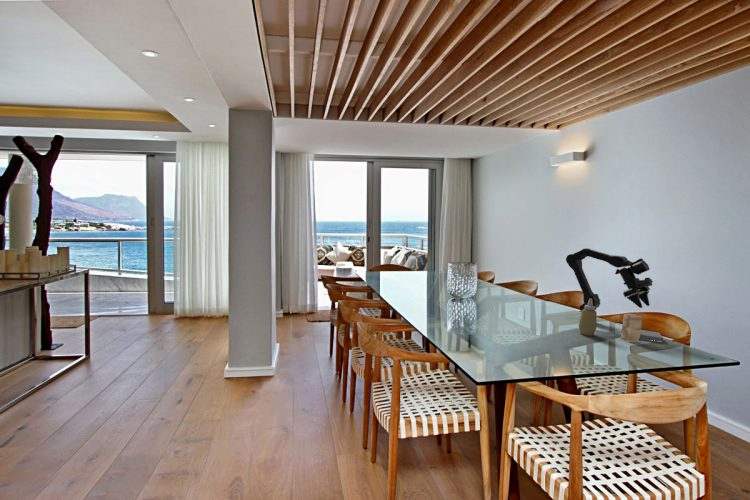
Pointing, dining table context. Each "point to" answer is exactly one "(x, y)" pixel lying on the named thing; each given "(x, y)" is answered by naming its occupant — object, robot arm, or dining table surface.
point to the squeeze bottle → (588, 319)
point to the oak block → (631, 328)
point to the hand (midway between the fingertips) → (645, 306)
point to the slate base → (650, 335)
